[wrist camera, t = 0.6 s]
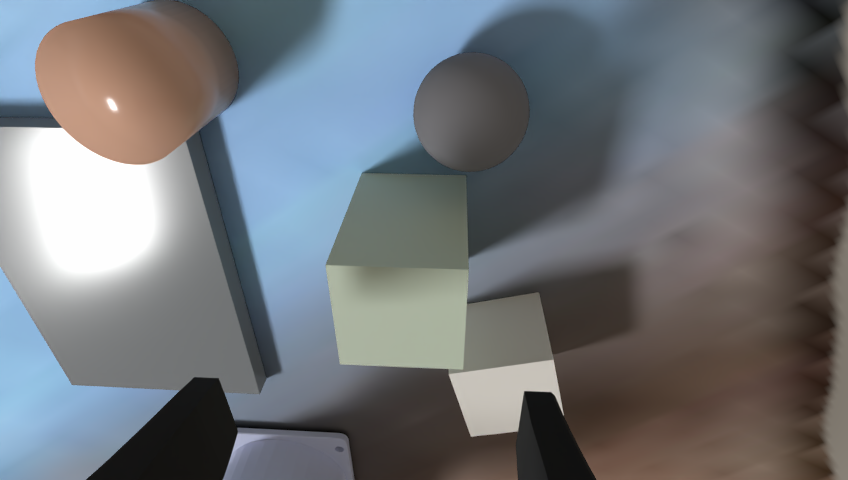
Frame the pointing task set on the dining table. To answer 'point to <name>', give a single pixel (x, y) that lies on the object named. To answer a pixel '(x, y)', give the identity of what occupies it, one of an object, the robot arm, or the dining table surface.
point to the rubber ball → (471, 112)
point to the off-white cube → (503, 363)
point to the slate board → (123, 263)
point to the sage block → (402, 272)
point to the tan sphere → (136, 78)
